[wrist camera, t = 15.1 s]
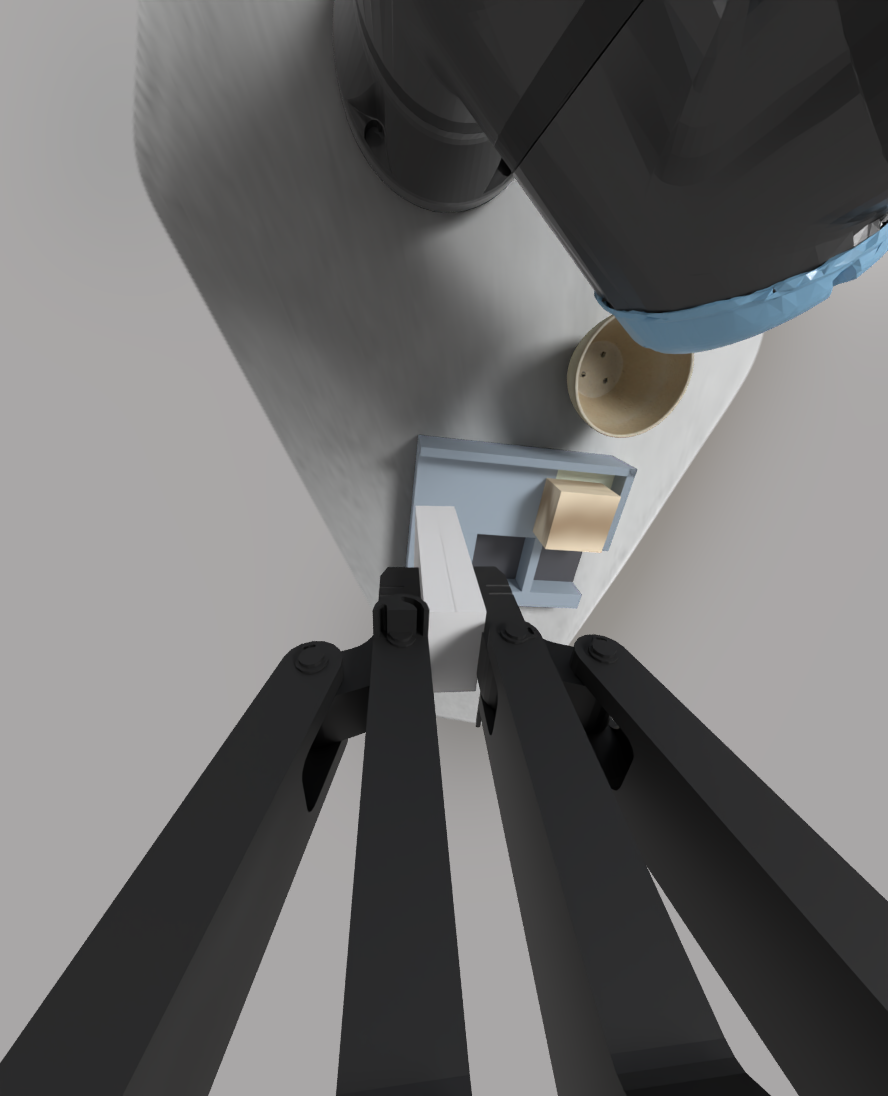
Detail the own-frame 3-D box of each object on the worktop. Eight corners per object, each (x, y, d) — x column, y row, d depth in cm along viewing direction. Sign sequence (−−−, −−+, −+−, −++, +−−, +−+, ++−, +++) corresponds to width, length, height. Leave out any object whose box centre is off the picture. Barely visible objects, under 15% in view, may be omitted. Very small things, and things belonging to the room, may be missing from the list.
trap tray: (418, 434, 40) (421, 447, 35) (612, 455, 43) (637, 469, 38) (403, 586, 48) (404, 611, 43) (567, 594, 51) (584, 618, 47)
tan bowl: (598, 440, 42) (633, 459, 36) (525, 386, 39) (550, 396, 32) (666, 351, 39) (720, 354, 32) (593, 284, 35) (637, 272, 29)
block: (546, 477, 40) (561, 491, 36) (601, 483, 41) (621, 496, 37) (532, 531, 43) (545, 549, 39) (584, 535, 44) (601, 552, 40)
